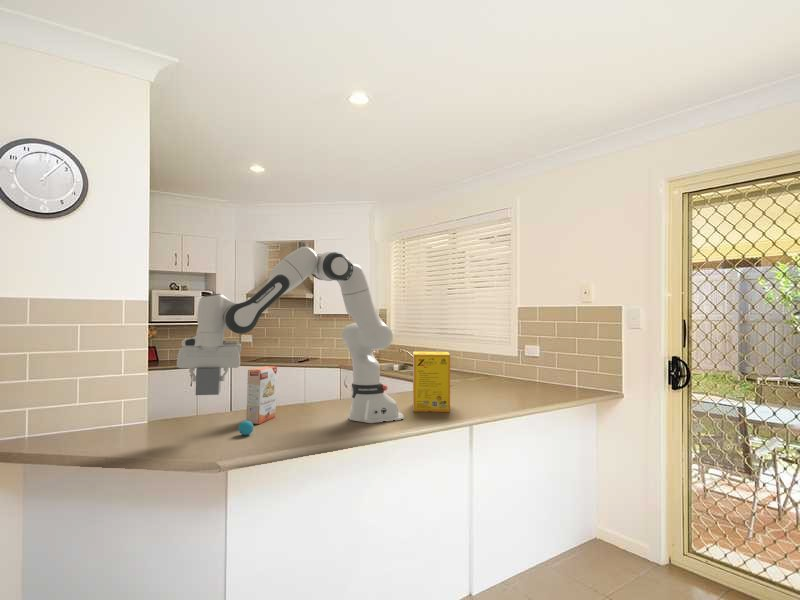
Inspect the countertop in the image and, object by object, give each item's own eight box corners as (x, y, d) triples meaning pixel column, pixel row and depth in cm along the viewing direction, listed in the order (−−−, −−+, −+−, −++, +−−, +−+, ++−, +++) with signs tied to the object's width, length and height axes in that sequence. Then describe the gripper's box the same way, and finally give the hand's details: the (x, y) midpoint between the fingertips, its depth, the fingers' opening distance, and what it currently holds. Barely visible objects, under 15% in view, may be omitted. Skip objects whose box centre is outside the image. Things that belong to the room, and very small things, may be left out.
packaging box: (413, 404, 222) (413, 351, 223) (447, 404, 222) (447, 351, 222) (412, 411, 206) (413, 354, 207) (450, 411, 205) (450, 354, 206)
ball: (253, 432, 167) (253, 418, 167) (253, 436, 162) (253, 421, 162) (238, 433, 166) (239, 419, 166) (237, 437, 161) (238, 422, 161)
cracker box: (260, 425, 179) (260, 370, 180) (245, 424, 180) (246, 369, 181) (276, 417, 193) (277, 366, 193) (263, 416, 194) (264, 365, 194)
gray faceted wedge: (220, 391, 165) (221, 366, 166) (218, 394, 158) (219, 368, 159) (198, 391, 163) (199, 366, 164) (195, 395, 156) (196, 368, 157)
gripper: (242, 340, 167) (241, 379, 167) (180, 340, 162) (178, 380, 161) (241, 341, 161) (240, 381, 161) (176, 341, 156) (174, 382, 155)
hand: (208, 381), depth 161 cm, fingers closed on gray faceted wedge, 7 cm apart
